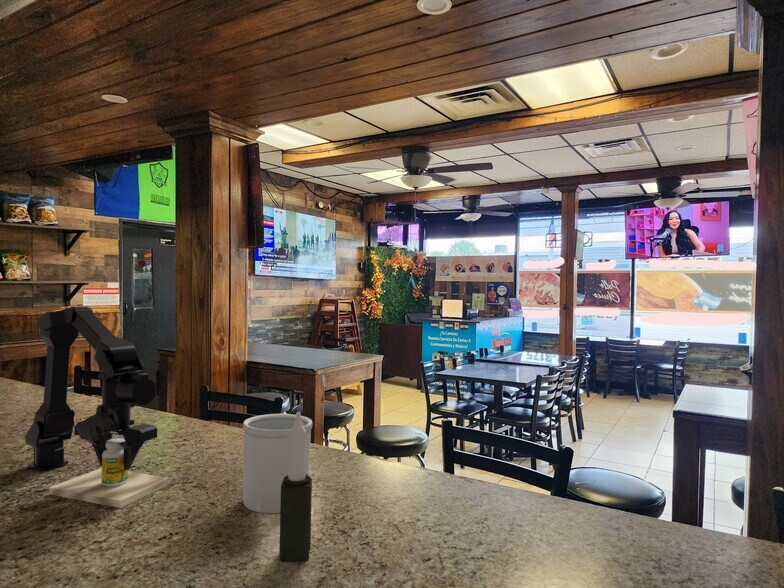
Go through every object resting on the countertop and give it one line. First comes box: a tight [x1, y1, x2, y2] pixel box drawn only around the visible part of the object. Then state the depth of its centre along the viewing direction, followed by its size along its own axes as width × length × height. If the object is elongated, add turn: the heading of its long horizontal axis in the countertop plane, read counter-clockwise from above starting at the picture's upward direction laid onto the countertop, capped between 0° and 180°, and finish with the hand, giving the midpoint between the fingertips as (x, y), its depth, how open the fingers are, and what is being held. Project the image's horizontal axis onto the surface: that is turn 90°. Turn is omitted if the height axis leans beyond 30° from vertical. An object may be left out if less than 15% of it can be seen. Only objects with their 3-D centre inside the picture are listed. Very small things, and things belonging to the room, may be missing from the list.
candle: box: [278, 411, 313, 563], centre depth 88 cm, size 5×5×25 cm
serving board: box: [48, 467, 170, 509], centre depth 115 cm, size 20×14×2 cm
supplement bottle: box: [101, 437, 129, 487], centre depth 115 cm, size 5×5×10 cm
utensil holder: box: [242, 413, 313, 514], centre depth 111 cm, size 15×15×18 cm
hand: (115, 467), depth 115 cm, fingers open, 7 cm apart
